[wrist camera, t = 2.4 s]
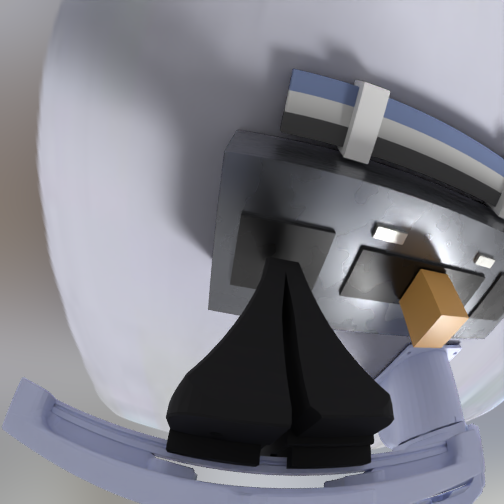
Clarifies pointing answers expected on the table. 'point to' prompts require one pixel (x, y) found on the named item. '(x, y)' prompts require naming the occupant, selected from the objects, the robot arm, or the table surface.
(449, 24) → the table surface
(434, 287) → the lever
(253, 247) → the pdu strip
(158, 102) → the table surface
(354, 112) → the cords
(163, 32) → the table surface
